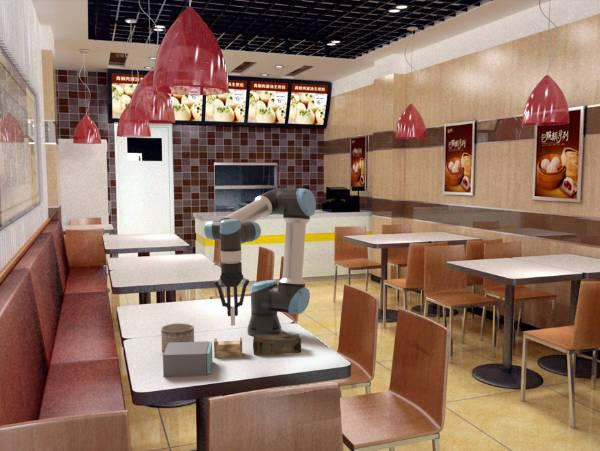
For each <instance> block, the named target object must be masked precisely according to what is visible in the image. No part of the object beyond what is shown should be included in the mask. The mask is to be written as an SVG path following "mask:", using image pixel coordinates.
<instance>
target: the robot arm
mask: <svg viewBox="0 0 600 451" xmlns="http://www.w3.org/2000/svg"><path fill="white" fill-rule="evenodd" d="M316 204H317V202H316V197H315V195H314V193H313V192H312V191H311V190H310V189H307V188H301V187H299V188H297V187H295V188H292V187H291V188H286V187H285V188H284V187H281V188H274V189H270V190H269V191H267V192H264V193H262V194H260V195H257V197H255V198H254V200H253V201H252V202H250V203H248V204H246V205H245V206H243V207H241V208H238V209H237V210H235V211H234V212H232V213H229V214H228V215H226V216H225V217H223V218H220V219H219V220H208V221H207V222H206V223H205V224H204V227H203V231H204V236H205V238H207V239H208V240H213V241H220V242H219V243H220V271H221V272H220V275H219V278H218V279H215V280H214V283H213V284H214V285H215V287H216V288H217V291H218V295H219V298H220V302H221V306H222V307H225V308H226V309H227V316H228V317H230V326H233V327H234V326H236V317H238V315H239V311H238V310H239V307H242V306H243V305H244V299H245V296H246V295H245V294H246V291H247V286H248V285H249V283H250V280H249V279H248V278H245V276H244V275H243V273H242V272H243V268H242V267H243V264H242V262H241V261H242V244H245V243H250V242H253V241H254V242H255V241H256V240H258V239H259V238H260V236H261V234H262V229H261V226H260V225H259V223H258V222H256V221H258V220H259V219H261V218H262V217H264V218H266V217H268V216H271V215H283V216H282V219H283V221H284V222H285V234H284V235H285V236H284V250H283V264H282V276H281V277H282V278H280V279H279V280H276V279H270V280H269V279H267V280H260V281H255V282H254V283H252V284H251V287H250V310H251V311H250V312H251V313H250V314H251V315H250V319H249V322H248V326H247V334H248V335H249V336H252V337H254V335H277V334H282V324H281V323H280V319H279V316H278V313H285V314H290V315H301V314H302V313H304V312H305V310H306V309H307V307H308V305H309V303H310V299H311V294H310V290H309V289H308V288H307V287H306V282H305V280H303V274H304V273H303V271H304V270H303V269H304V256H305V254H304V253H305V240H306V228H307V226H306V225H307V223H308V222H310V220H311V216H314V215H315V212H316V211H317V210H316V208H317V205H316ZM241 282H242V288H241V292H240V298H239V301H238V286H240V284H241ZM222 284H223V285H224V286H225V287H226V299H225V296H224V293H223V288H222V286H221V285H222ZM231 287H232V288H233V304H234V305H233V306H232V305H231V304H232V302H231V301H232V300H231V299H232V298H231Z"/></svg>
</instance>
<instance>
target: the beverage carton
mask: <svg viewBox="0 0 600 451" xmlns="http://www.w3.org/2000/svg"><path fill="white" fill-rule="evenodd" d="M252 350H253V355H254V356H256V355H258V356H259V354H263V355H284V354H283V353H293V354H302V338H301V335H300V333H294V334H290V333H289V334H287V333H285V334H282V333H280V334H277V335H254V336H253V339H252Z"/></svg>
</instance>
